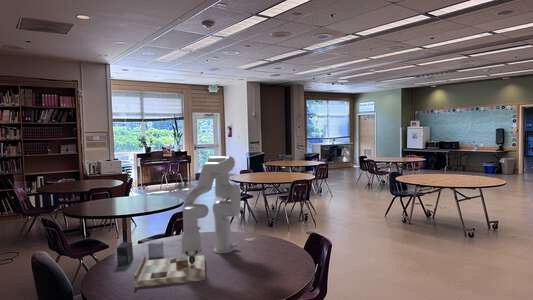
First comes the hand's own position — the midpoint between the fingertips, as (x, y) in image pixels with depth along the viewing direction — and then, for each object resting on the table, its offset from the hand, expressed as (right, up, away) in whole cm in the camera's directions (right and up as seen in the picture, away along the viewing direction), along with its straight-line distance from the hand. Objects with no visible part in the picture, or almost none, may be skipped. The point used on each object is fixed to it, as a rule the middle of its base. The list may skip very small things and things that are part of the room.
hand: (192, 263), depth 197 cm
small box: (-43, -5, +18) cm, 47 cm away
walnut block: (-5, -1, -1) cm, 5 cm away
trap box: (-10, -5, -2) cm, 11 cm away
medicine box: (-27, -4, +26) cm, 38 cm away
